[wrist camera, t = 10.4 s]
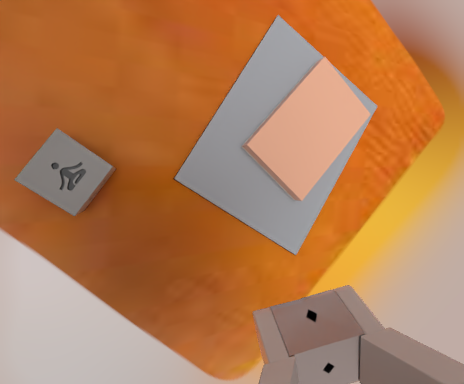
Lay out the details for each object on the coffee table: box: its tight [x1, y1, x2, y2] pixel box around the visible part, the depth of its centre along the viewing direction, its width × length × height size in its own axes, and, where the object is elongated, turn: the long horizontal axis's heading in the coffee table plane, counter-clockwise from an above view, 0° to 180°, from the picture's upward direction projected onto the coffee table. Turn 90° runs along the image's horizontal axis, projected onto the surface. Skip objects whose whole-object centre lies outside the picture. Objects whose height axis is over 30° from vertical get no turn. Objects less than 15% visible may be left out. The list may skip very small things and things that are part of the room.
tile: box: [241, 57, 371, 201], centre depth 34 cm, size 2×9×14 cm
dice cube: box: [14, 129, 116, 216], centre depth 26 cm, size 5×5×5 cm
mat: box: [174, 15, 377, 255], centre depth 35 cm, size 17×22×1 cm
